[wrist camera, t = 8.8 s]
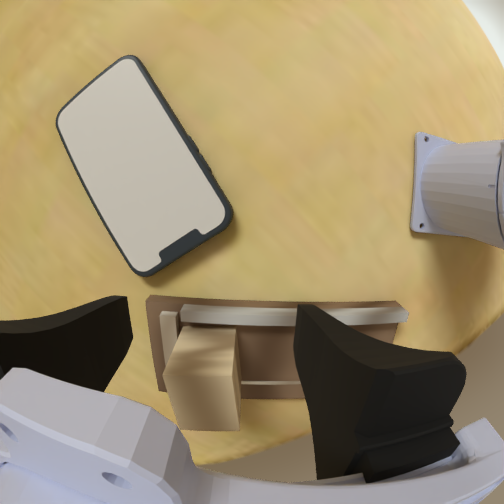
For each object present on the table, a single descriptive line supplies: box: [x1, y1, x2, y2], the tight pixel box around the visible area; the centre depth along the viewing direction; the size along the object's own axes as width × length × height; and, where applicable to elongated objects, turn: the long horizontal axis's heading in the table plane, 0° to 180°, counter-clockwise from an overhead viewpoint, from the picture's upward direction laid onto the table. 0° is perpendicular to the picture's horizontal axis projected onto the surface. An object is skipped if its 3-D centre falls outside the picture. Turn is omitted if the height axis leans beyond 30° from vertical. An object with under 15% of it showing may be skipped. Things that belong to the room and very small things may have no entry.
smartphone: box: [56, 55, 233, 277], centre depth 18 cm, size 9×2×16 cm
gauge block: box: [162, 325, 242, 431], centre depth 18 cm, size 4×5×6 cm
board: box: [146, 295, 409, 399], centre depth 21 cm, size 20×9×2 cm, turn 88°
